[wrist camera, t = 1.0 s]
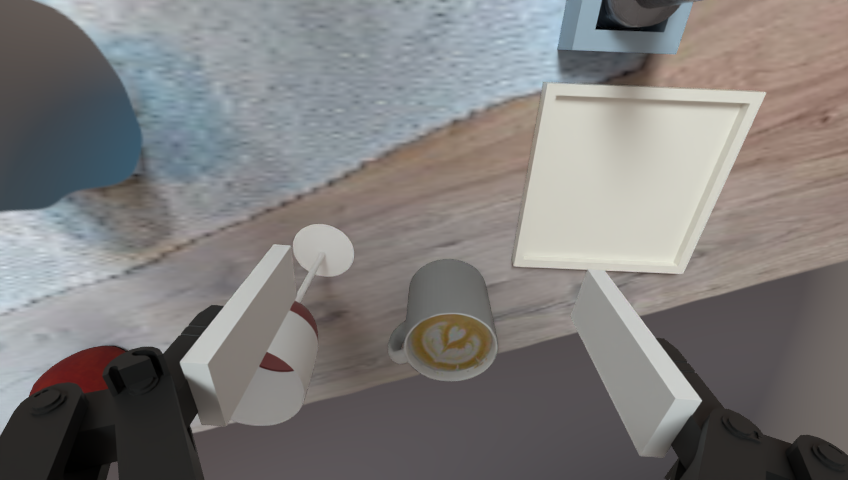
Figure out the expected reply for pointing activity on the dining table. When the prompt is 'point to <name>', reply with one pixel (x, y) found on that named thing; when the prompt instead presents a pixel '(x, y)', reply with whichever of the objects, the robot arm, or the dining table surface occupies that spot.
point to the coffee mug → (446, 323)
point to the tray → (627, 174)
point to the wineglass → (294, 335)
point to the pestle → (636, 12)
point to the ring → (648, 40)
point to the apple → (80, 369)
